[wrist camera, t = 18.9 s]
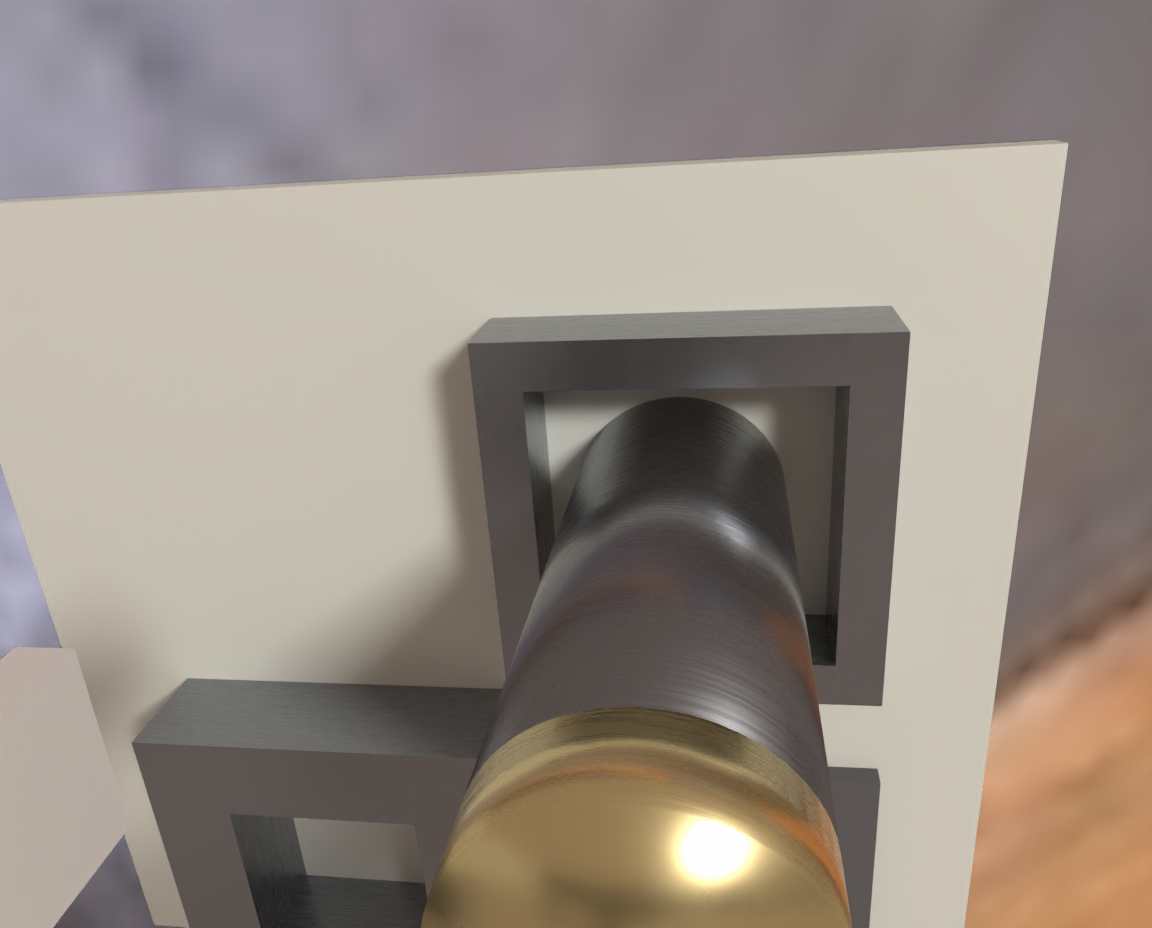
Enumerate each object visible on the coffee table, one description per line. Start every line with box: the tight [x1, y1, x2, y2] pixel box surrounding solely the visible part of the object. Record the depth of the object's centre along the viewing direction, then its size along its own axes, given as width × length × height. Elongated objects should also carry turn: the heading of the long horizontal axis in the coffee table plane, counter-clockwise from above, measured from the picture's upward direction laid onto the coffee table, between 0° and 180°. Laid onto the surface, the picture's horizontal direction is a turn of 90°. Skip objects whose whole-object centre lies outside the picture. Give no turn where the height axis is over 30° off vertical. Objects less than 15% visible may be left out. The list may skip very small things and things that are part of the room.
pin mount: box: [131, 678, 502, 928], centre depth 25 cm, size 9×9×3 cm
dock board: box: [0, 140, 1068, 928], centre depth 23 cm, size 24×22×1 cm
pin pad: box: [828, 766, 881, 928], centre depth 24 cm, size 7×7×1 cm
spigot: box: [421, 397, 852, 928], centre depth 15 cm, size 5×5×12 cm
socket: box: [467, 306, 910, 706], centre depth 20 cm, size 8×8×2 cm
